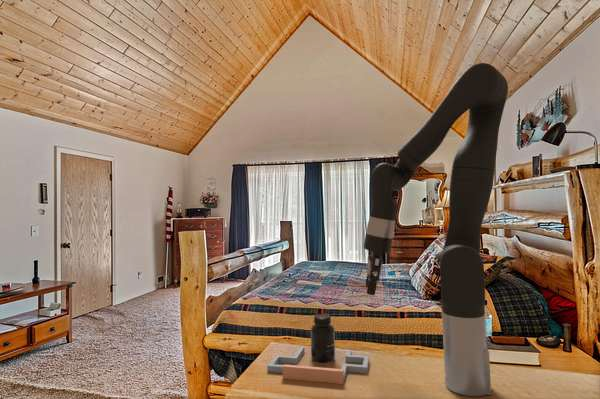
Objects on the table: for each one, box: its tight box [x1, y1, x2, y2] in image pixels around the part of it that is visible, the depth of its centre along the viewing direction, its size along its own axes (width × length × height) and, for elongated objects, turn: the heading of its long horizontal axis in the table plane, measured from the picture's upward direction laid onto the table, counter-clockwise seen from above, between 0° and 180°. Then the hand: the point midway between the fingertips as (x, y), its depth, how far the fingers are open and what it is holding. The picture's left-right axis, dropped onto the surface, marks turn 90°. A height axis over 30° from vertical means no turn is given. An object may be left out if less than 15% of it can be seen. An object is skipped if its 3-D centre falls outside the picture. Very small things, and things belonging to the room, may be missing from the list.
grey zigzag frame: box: [267, 345, 370, 385], centre depth 97 cm, size 26×18×3 cm
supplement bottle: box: [310, 313, 336, 364], centre depth 102 cm, size 7×7×12 cm
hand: (369, 290), depth 101 cm, fingers open, 8 cm apart
